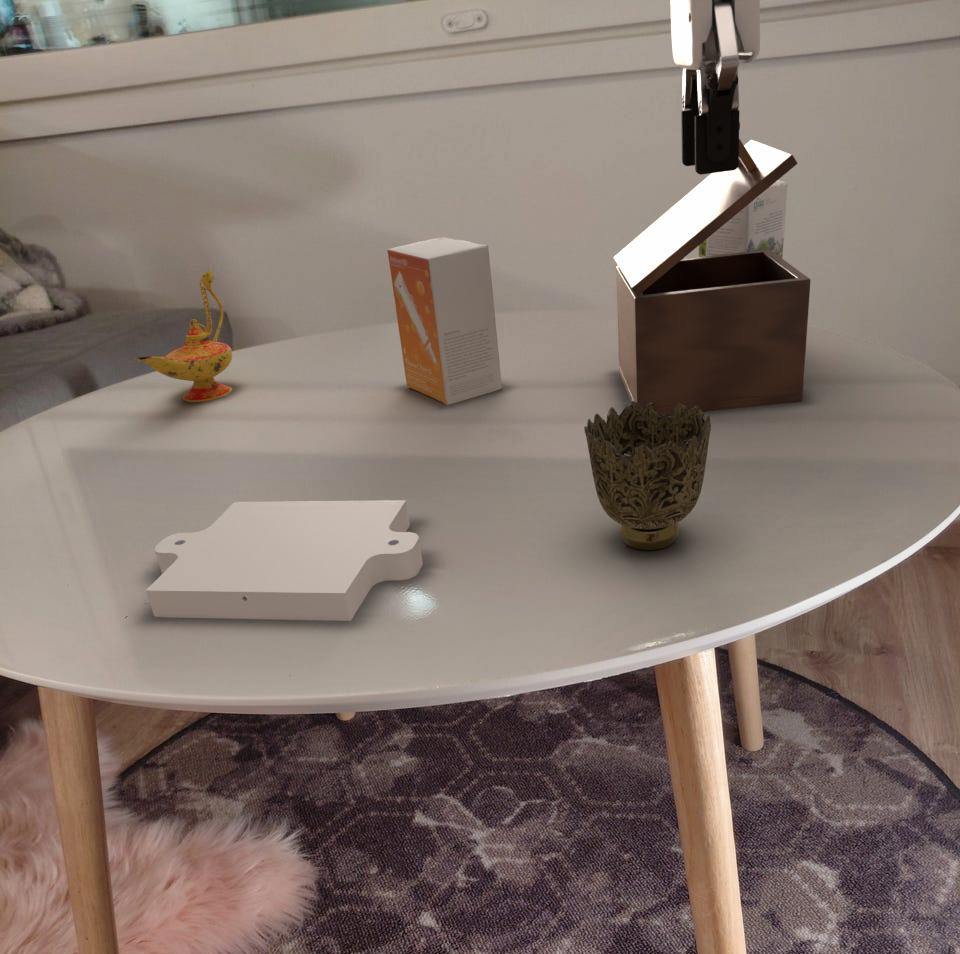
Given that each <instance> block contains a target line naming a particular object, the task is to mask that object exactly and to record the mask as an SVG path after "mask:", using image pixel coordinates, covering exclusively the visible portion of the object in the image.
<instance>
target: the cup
mask: <svg viewBox="0 0 960 954" xmlns="http://www.w3.org/2000/svg"><path fill="white" fill-rule="evenodd" d="M642 408H643V407H642V406H640V405H639V404H638V403H637V402H635V401H632V402H631V401H630V402H629V403H628V404H627V405H626V406H625V407H624V408H623V410H622V411H621V413H620V414H618V412H617V411H616V409H615V408H614V407H613V406H610V408H609V410H608V412H607V414H606V420H605V419H603V418H602V417H601V415H600V414H599V413H595V414H594V417H593V421H592V420H591V418H588V419H587V422H586V423H587V424H586V425H584V427H583V428H584V429H583V430H584V433H585V437H586V438H585V439H586V443H587V450H588V455H589V461H590V465H591V466H590V468H591V473H592V478H593V483H594V488H595V492H596V495H597V498H598V501H599V504H600V505H601V507H602V510H603V511H604V512H605V513H606V514H607V516H608V517H609V518H610V519H611V520H613V521H614V522H615V523H618V524H619V525H620V528H619V534H620V536H621V538H622V540H623V542H624V543H625V544H626V545H628V546H629V547H630V548H634V549H637V550H643V551H653V550H654V551H655V550H659V549H663V548H666V547H668V546H670V545H671V544H672V543H674V542H675V541H676V539H677V536H678V534H679V531H680V526H679V522H681V521H683V520H684V519H685V518H687V516H688V515H690V514H691V513H692V511H693V509H695V507H696V505H697V502H698V500H699V498H700V495H701V492H702V489H703V485H704V479H705V474H706V466H707V458H708V450H709V443H710V436H711V435H710V434H711V431H712V430H711V429H712V423H711V416H710V414H709V415H707V417H706V415H705V413H704V412H702V411H701V409H700V407H699V406H695V407H694V408H692V409H690V410H689V411H687V410H686V406H685V405H683V404H681V403H679V404H678V405H677V406H676V407H675V409H674V413H673V414H674V415H673V414H672V415H668V414H666V413H665V414H659V415H658V413H657V412H656V411H655V405H654V403H652V402H650V403H649V404H648V405H647V407H646V409H645V410H643V409H642ZM661 415H663V416H661Z"/></svg>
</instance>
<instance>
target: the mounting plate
mask: <svg viewBox="0 0 960 954" xmlns="http://www.w3.org/2000/svg"><path fill="white" fill-rule="evenodd" d="M410 526H411V521H410V517H409V510H408V503H407V500H406V499H385V500H379V499H377V500H296V501H295V500H293V501H292V500H289V501H288V500H284V501H283V500H282V501H281V500H280V501H234V502H233V503H232V504H231V505H230V506H229V507H228V508H227V509H226V510H225V511H223V513H221V515H220V516H219V517H217V518H216V520H214V522H213V523H212V524H211V525H209V526H208V527H207V528H204V529H202V530H199V531H194V532H177V533H172V534H170V535H168V536H166V537H164V538H163V539H162V540H161V541H160V542H159V543H158V544H156V546H155V547H154V553H155V556H156V559H157V562H158V565H159V568H160V571H161V575H159V577H158V578H157V579H156V580H155V581H153V583H152V584H151V585H150V586H148V587H147V588H146V590H145V592H146V595H147V599H148V601H149V605H150V608H151V611H152V614H153V617H154V618H177V619H178V618H179V619H180V618H181V619H182V618H186V619H187V618H188V619H227V620H228V619H229V620H230V619H232V620H233V619H234V620H279V621H281V620H283V621H284V620H285V621H329V622H331V621H332V622H351V621H352V620H353V618H354V617H355V615H356V614H357V612H358V610H359V609H360V607H361V605H363V602H364V601H365V599H366V597H367V596H368V594H369V592H370V591H371V589H372V588H373V587H374V586H376V584H380V583H382V582H387V581H406V580H407V581H408V580H410V579H412V578H415V577H416V576H417V575H418V574H419V573H420V571H421V569H422V567H423V565H424V562H423V555H422V549H421V543H420V537H419V535H418V534H417V533H416V532H411V531H408V529H409V528H410Z"/></svg>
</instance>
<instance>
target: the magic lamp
mask: <svg viewBox="0 0 960 954" xmlns="http://www.w3.org/2000/svg"><path fill="white" fill-rule="evenodd" d="M214 279H215V278H214V274H213V273H212V272H211V270H210V269H208V270H206V271H204V273H203V274H202V277H201V278H200V281H199V288H200V289H199V290H200V293H201V294H200V295H201V297H202V298H201V299H202V302H203V306H204V313H205V320H206V325H203V324H201V323H199V322H198V320H197V319H196V318H195V319H193V318H192V319H190V320H189V325H188V327H189V330H188V333H187V335H186V336H185V339H184V345H182V346H181V347H179V348H177V349H174V350H172V351H171V352H169V353H167V354H166V355H164V356H153V355H152V356H151V355H150V356H139V357H135V358H134V359H133V362H136V363H139V362H141V363H144V364H146V365H147V366H149V367H150V368H151V369H153V370H155V371H156V372H158V373H159V374H161V375H163V376H166V377H169V378H171V379H174V380H175V379H176V380H179V381H180V380H181V381H187V382H193V383H192V386H191V388H190V389H189V390H188V391H187V392H186V393H184V394H183V396H182V400H183V401H185V402H189V403H200V402H209V401H214V400H217V399H220V398H222V397H225V396H227V395H229V394H230V393H231V392H232V391H233V388H232V387H231V386H228V385H226V384H222V383H221V382H218V381H217V380H216V378H214V377H216V376H218V375H219V374H221V373H223V372H224V371H225V370H226V369H227V368H228V367H229V366H230V364H231V362H232V359H233V351H232V348H231V347H230V346H229V345H228V344H227V343H224V342H221V341H220V342H219V341H218V338H219V335H220V332H221V330H222V329H221V328H222V325H223V321H224V315H225V314H224V308H223V305H222V303H221V301H220V298H218V296H217V295H216V294H215V292H214V291H213V289H212V285H213V282H214ZM202 285H203V286H202ZM207 291H208V292H209V294H210V295H211V296H212V298H213V299H214V300H215V302H216V303H217V305H218V307H219V308H218V309H219V315H220V316H219V321H218V323H217V328H216V331H215V332H214V333H215V334H214V336H213V338H212V340H211V338H210V337H209V336H210V335H211V334H212V332H213V320H212V312H211V311H212V310H211V306H210V302H209V298H208V293H207ZM201 327H202V328H201Z"/></svg>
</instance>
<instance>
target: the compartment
mask: <svg viewBox="0 0 960 954" xmlns="http://www.w3.org/2000/svg"><path fill="white" fill-rule="evenodd" d="M615 280H616V307H617V308H616V312H617V315H616V316H617V341H618V344H617V345H618V346H617V347H618V366H619V367H618V374H619V377H620V379H621V382H622V384H623V387H624V389H625V391H626V394H627V396H628V398H629V401H630V403H631V402H632V401H635V402H637V403H638V404H639V405H640V406H642V407H643V408H642V409H643V410H645V409H646V407H647V405H648V404H649V403H650V402H652V403H654V405H655V411H656V412H657V413H658V415H659V414H665V413H666V414H668V415H672V414H673V413H674V409H675V407H676V406H677V405H678V404H679V403H681V404H683V405H685V406H686V410H687V411H689V410H690V409H692V408H694V407H695V406H699V407H700V409H701V411H702V412H703V413H705V412H714V411H726V410H734V409H743V408H745V409H746V408H753V407H763V406H764V407H765V406H773V405H783V404H793V403H802V402H803V393H804V382H805V381H804V380H805V368H806V367H805V366H806V352H807V337H808V336H807V335H808V325H809V323H808V321H809V307H810V296H811V295H810V294H811V293H810V292H811V281H812V280H811V278H810V277H808V276H807V275H805V274H804V273H803V272H801V271H800V270H799V269H797V268H796V267H794V266H793V265H792V264H790V263H789V262H787V261H786V260H785V259H784V258H783V257H782V258H781V257H779V256H778V255H777V254H775V253H774V252H773V251H771V250H770V249H768V250H759V251H750V252H741V253H732V254H723V255H714V256H705V257H699V256H696V257H689V258H687V257H686V258H683V259H682V260H681V261H679V262H678V263H677V264H676V265H675V266H673V267H672V268H671V269H670V270H669V271H667V272H666V273H665V274H664V275H663V276H661V277H660V278H659V279H658V280H657V281H655V282H654V283H653V284H652V285H650V286H649V287H648V288H647V289H646V290H644V291H643V292H642V293H641V294H640V295H638V296H637V295H636V293H635V292H634V291H633V289H632V288H631V286H630V285H629V283H628V281H627V280H626V278H625V276H624V275H623V273H622V271H621V270H620V268H619V266H618V265H616V266H615ZM673 415H674V414H673ZM673 415H672V416H673ZM661 416H663V415H661Z"/></svg>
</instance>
